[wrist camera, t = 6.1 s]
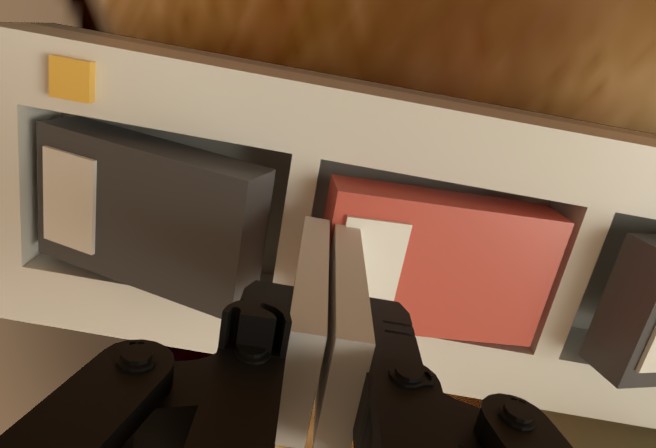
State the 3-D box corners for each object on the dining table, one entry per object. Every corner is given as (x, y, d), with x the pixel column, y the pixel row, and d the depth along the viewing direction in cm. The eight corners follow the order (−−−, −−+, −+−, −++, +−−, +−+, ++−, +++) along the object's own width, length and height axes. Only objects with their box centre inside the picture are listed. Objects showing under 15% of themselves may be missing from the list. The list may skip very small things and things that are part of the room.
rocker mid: (308, 298, 19) (312, 328, 17) (331, 173, 17) (338, 192, 15) (508, 318, 20) (531, 349, 18) (546, 204, 18) (577, 225, 17)
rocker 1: (77, 236, 20) (34, 253, 18) (79, 115, 18) (32, 121, 17) (257, 299, 18) (228, 324, 16) (276, 169, 16) (245, 182, 15)
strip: (55, 263, 23) (-18, 321, 19) (53, 22, 20) (-36, 21, 15) (885, 407, 24) (1010, 495, 20) (1022, 202, 21) (1213, 251, 16)
